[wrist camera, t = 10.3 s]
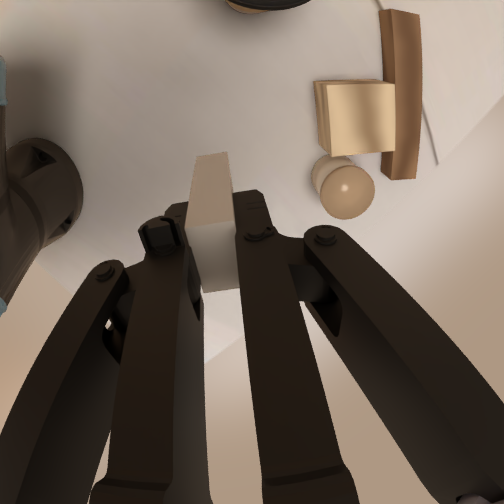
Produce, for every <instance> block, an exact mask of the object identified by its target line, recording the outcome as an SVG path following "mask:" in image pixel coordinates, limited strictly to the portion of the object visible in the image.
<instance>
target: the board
mask: <svg viewBox="0 0 504 504" xmlns="http://www.w3.org/2000/svg"><path fill="white" fill-rule="evenodd" d="M379 17H380V28H381V41H382V58H383V81H384V82H388V83H392V84H395V151H386V152H382V161H381V172H382V173H383V174H384V175H386V176H387V177H388V178H389V179H390V180H402V179H416V172H417V163H418V154H419V143H420V130H421V114H422V44H421V29H420V17H419V15H418V14H413V13H409V12H404V11H399V10H394V9H388V10H382V11H379Z"/></svg>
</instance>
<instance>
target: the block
mask: <svg viewBox="0 0 504 504" xmlns="http://www.w3.org/2000/svg"><path fill="white" fill-rule="evenodd" d="M313 83H314V92H315V101H316V111H317V122H318V134H319V145H320V146H321V147H322V148H323V149H324V150H325V151H326V152H327V153H328V154H329V155H330V156H331V157H336V156H345V155H354V154H364V153H374V152H386V151H395V84H392V83H388V82H384V81H380V80H376V79H356V80H328V81H313Z"/></svg>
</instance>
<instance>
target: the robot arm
mask: <svg viewBox="0 0 504 504" xmlns="http://www.w3.org/2000/svg"><path fill="white" fill-rule="evenodd" d="M7 103H8V100H7V99H6V63H5V61H4V59H3V58H2V57H1V56H0V316H1V315H2V313H4V312H5V311H6V310H7V306H8V304H9V302H10V300H11V298H12V296H13V295H14V293H15V291H16V289H17V287H18V286H19V284H20V282H21V280H22V279H23V277H24V275H25V273H26V272H27V270H28V268H29V267H30V265H31V264H32V262H33V261H34V259H35V257H36V256H37V254H38V253H39V251H40V250H41V249H43V248H44V247H46V246H48V245H49V244H51V243H53V242H54V241H56V240H58V239H59V238H61V237H62V236H64V235H65V234H66V233H67V232H68V231H69V230H70V228H71V227H72V225H73V224H74V223H75V221H76V220H77V218H78V216H79V214H80V211H81V208H82V202H83V189H82V183H81V179H80V176H79V173H78V171H77V169H76V167H75V165H74V163H73V162H72V160H71V159H70V157H69V156H68V155H67V154H66V153H65V152H64V151H63V150H62V149H61V148H60V147H58V146H57V145H55V144H54V143H52V142H50V141H47V140H44V139H39V138H31V139H26V140H23V141H21V142H19V143H18V144H16V145H15V146H13V147H11V148H10V149H9V150H8V151H6V142H5V105H7ZM138 233H139V236H140V238H141V241H142V244H143V246H144V249H145V252H146V253H145V257H144V260H143V261H141V262H139V263H137V264H135V265H132V266H130V267H127V268H124V265H123V263H122V262H120V261H119V260H107V261H104V262H102V263H100V264H99V265H97V266H96V267H94V268H93V269H92V270H91V272H90V273H89V274H88V276H87V277H86V279H85V280H84V281H83V283H82V284H81V286H80V287H79V289H78V290H77V292H76V293H75V295H74V296H73V298H72V300H71V301H70V303H69V304H68V306H67V307H66V309H65V311H64V312H63V314H62V315H61V317H60V319H59V320H58V322H57V324H56V325H55V327H54V328H53V330H52V332H51V334H50V335H49V337H48V339H47V340H46V342H45V344H44V346H43V347H42V350H41V351H40V353H39V355H38V356H37V358H36V360H35V362H34V364H33V366H32V368H31V370H30V371H29V374H28V375H27V377H26V379H25V381H24V383H23V385H22V388H21V389H20V391H19V394H18V396H17V398H16V400H15V402H14V404H13V406H12V409H11V411H10V413H9V415H8V418H7V420H6V422H5V425H4V427H3V429H2V432H1V434H0V504H87V502H88V498H89V495H90V500H89V504H213V502H212V500H211V496H210V491H209V476H208V461H207V442H206V422H205V421H206V420H205V391H204V303H203V300H202V296H201V293H200V290H201V286H202V289H203V293H208V292H215V291H222V290H229V289H235V288H240V296H241V305H242V314H243V323H244V332H245V341H246V350H247V359H248V368H249V376H250V385H251V393H252V401H253V410H254V418H255V426H256V434H257V442H258V449H259V457H260V465H261V473H262V498H263V504H360V503H359V499H358V495H357V491H356V487H355V484H354V480H353V478H352V475H351V473H350V471H349V470H348V468H347V467H346V466H345V464H344V462H343V460H342V458H341V454H340V450H339V446H338V442H337V439H336V435H335V430H334V426H333V423H332V419H331V415H330V411H329V407H328V404H327V400H326V396H325V392H324V388H323V385H322V381H321V377H320V373H319V370H318V367H317V363H316V359H315V355H314V352H313V348H312V345H311V341H310V338H309V334H308V331H307V327H306V324H305V320H304V317H303V313H302V310H301V306H300V303H299V301H304V303H305V306H306V307H307V309H308V310H309V312H310V313H311V315H312V316H313V318H314V319H315V321H316V322H317V324H318V325H319V327H320V328H321V329H322V331H323V333H324V334H325V335H326V337H327V338H328V340H329V341H330V343H331V344H332V346H333V347H334V349H335V350H336V352H337V353H338V355H339V356H340V358H341V359H342V361H343V362H344V364H345V365H346V367H347V368H348V370H349V371H350V373H351V374H352V376H353V377H354V379H355V380H356V382H357V383H358V385H359V386H360V388H361V389H362V391H363V393H364V394H365V395H366V397H367V399H368V400H369V402H370V403H371V405H372V406H373V408H374V409H375V411H376V412H377V414H378V415H379V417H380V418H381V420H382V422H383V423H384V425H385V426H386V428H387V429H388V431H389V432H390V434H391V435H392V437H393V438H394V440H395V442H396V443H397V445H398V446H399V448H400V449H401V451H402V452H403V454H404V456H405V457H406V459H407V460H408V462H409V463H410V465H411V466H412V468H413V470H414V471H415V473H416V474H417V476H418V477H419V479H420V481H421V482H422V483H423V485H424V486H425V487H426V489H427V490H428V492H429V493H430V494H431V496H433V498H434V499H435V500H436V501H437V502H438V503H439V504H504V403H503V402H502V401H501V399H500V398H499V397H498V395H497V394H496V393H495V392H494V390H493V389H492V388H491V386H490V385H489V384H488V383H487V382H486V380H485V379H484V378H483V376H482V375H480V373H479V372H478V370H477V369H476V368H475V367H474V365H473V364H472V363H471V362H470V361H469V360H468V358H467V357H466V356H465V355H464V354H463V352H461V350H460V349H459V348H458V347H457V346H456V344H455V343H454V342H453V341H452V340H451V339H450V338H449V336H448V335H447V334H446V333H445V332H444V331H443V330H442V329H441V328H440V326H439V325H438V324H437V323H436V322H435V321H434V320H433V319H432V318H431V317H430V316H429V315H428V313H426V311H425V310H424V309H423V308H422V307H421V306H420V305H419V304H418V303H417V302H416V301H415V300H414V299H413V298H412V297H411V296H410V295H409V294H408V293H407V292H406V290H405V289H403V288H402V286H401V285H400V284H399V283H397V281H396V280H395V279H394V278H393V277H391V275H389V273H388V272H387V271H386V270H385V269H383V268H382V266H380V265H379V264H378V263H377V262H376V261H375V260H374V259H373V258H372V257H371V256H370V255H369V254H368V253H367V252H366V251H365V250H364V249H363V248H362V247H360V245H359V244H357V243H356V242H355V241H354V240H353V239H352V238H351V237H350V236H349V235H348V234H347V233H346V232H344V231H343V230H341V229H340V228H338V227H335V226H331V225H319V226H314V227H312V228H310V229H308V230H307V231H306V232H305V233H304V238H293V237H287V236H284V235H281V234H279V233H278V231H277V229H276V228H275V227H274V226H273V225H272V221H271V218H270V215H269V212H268V208H267V205H266V202H265V199H264V196H263V194H262V193H261V192H259V191H258V190H256V189H255V190H249V191H242V192H236V193H233V187H232V180H231V174H230V168H229V162H228V155H227V152H222V153H216V154H210V155H205V156H199V157H197V158H196V163H195V168H194V174H193V179H192V185H191V191H190V197H189V201H188V202H182V203H177V204H172V205H171V206H170V207H169V208H168V209H167V210H166V211H165V214H164V216H159V217H155V218H152V219H150V220H148V221H146V222H145V223H144V224H143V225H141V226H140V228H139V229H138ZM108 319H109V320H110V321H111V325H110V327H109V328H108V329H106V327H105V325H106V323H107V321H108ZM110 430H111V434H110V444H109V455H108V468H107V473H106V475H105V477H104V478H103V479H101V480H100V481H98V482H97V483H95V485H94V486H93V488H92V485H93V482H94V479H95V475H96V472H97V469H98V466H99V463H100V459H101V456H102V454H103V451H104V447H105V445H106V442H107V439H108V436H109V433H110ZM91 488H92V490H91ZM90 492H91V494H90Z"/></svg>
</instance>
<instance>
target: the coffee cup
mask: <svg viewBox="0 0 504 504" xmlns="http://www.w3.org/2000/svg"><path fill="white" fill-rule="evenodd" d="M225 1H226V2H227V3H228V4H229V5H230V6H231V7H232V8H233V9H235V10H236V11H238V12H241V13H246V14H255V13H260V12H265V11H273V10H284V9H290V8H294V7H297V6H300V5H302V4H305V3H307V2H309V1H310V0H225Z"/></svg>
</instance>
